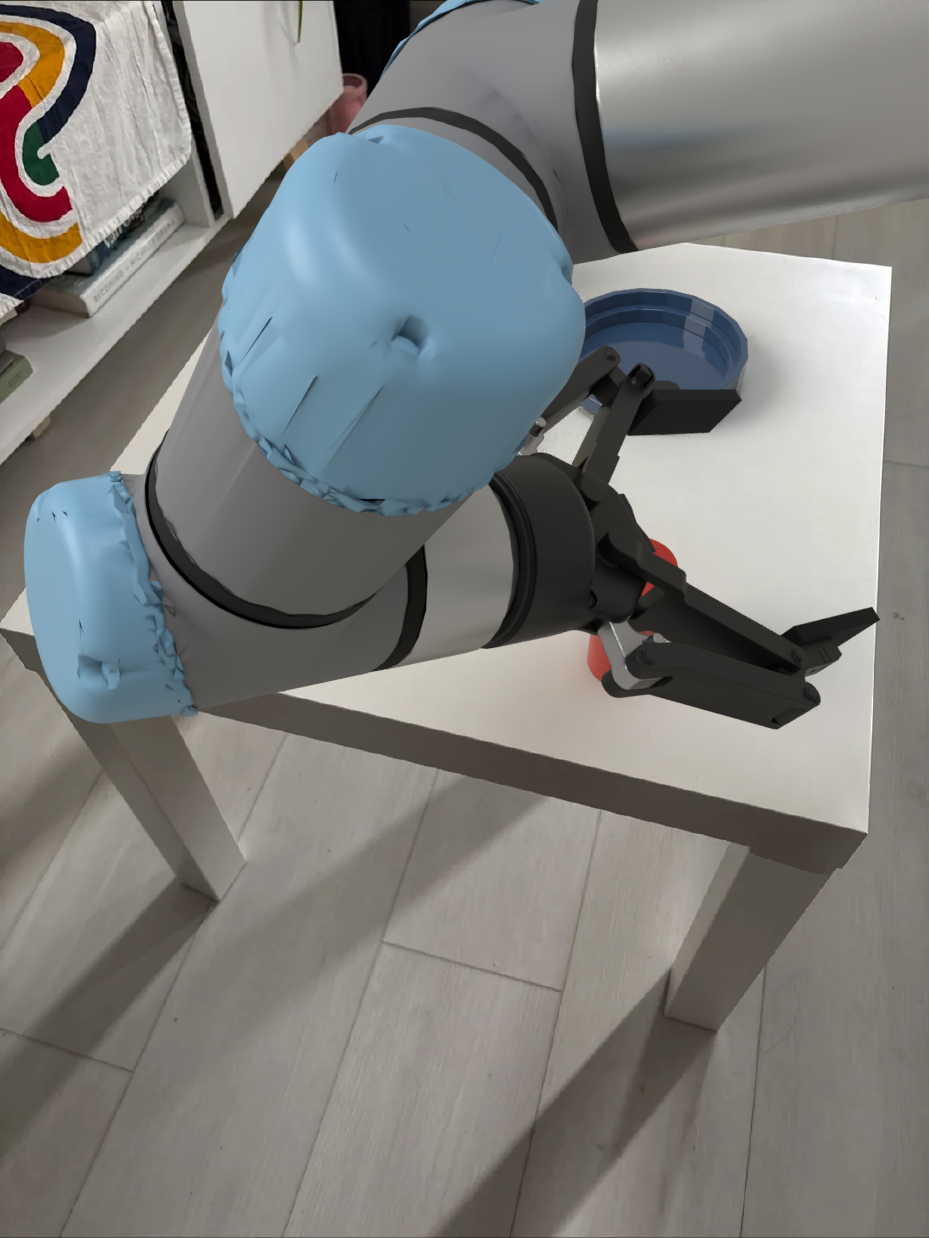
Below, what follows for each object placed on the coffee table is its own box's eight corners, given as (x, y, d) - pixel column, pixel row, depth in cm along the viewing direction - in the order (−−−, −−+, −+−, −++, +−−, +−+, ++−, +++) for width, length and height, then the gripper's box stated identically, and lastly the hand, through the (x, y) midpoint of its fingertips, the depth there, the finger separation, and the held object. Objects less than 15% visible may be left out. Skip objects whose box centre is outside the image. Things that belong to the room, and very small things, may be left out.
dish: (761, 347, 88) (770, 313, 86) (707, 456, 79) (715, 423, 77) (595, 305, 93) (598, 272, 90) (527, 404, 84) (528, 371, 81)
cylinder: (666, 647, 67) (688, 550, 60) (643, 699, 65) (663, 604, 57) (602, 624, 69) (615, 526, 61) (576, 674, 66) (587, 579, 58)
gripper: (315, 374, 44) (633, 377, 57) (548, 888, 36) (858, 759, 49) (381, 246, 39) (716, 281, 52) (672, 819, 31) (986, 694, 43)
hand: (786, 514), depth 50 cm, fingers open, 13 cm apart
